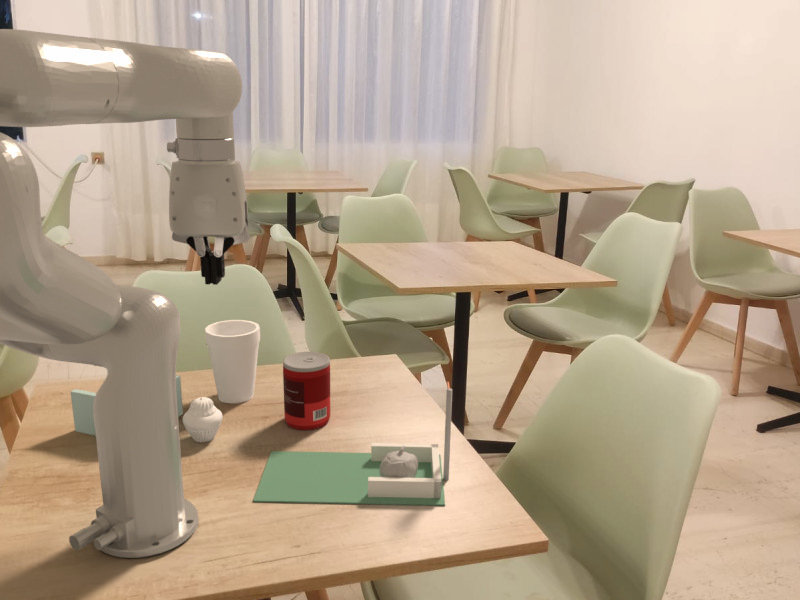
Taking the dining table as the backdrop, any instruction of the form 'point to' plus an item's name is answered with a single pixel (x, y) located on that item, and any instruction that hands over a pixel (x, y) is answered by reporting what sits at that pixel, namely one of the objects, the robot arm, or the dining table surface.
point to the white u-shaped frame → (423, 454)
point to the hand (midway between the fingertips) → (213, 281)
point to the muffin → (202, 419)
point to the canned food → (306, 390)
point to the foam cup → (233, 358)
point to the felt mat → (330, 479)
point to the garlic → (399, 464)
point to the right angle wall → (84, 408)
